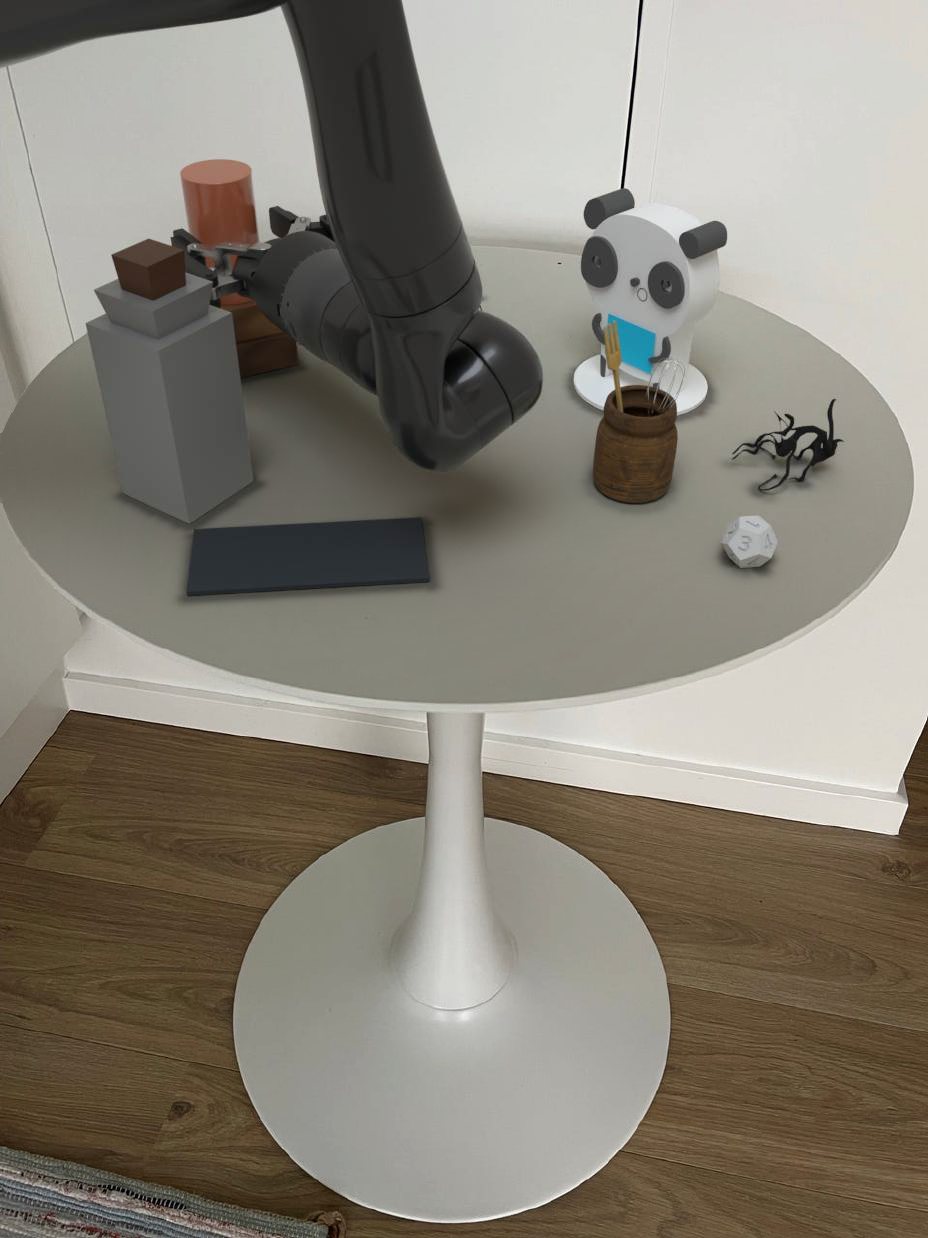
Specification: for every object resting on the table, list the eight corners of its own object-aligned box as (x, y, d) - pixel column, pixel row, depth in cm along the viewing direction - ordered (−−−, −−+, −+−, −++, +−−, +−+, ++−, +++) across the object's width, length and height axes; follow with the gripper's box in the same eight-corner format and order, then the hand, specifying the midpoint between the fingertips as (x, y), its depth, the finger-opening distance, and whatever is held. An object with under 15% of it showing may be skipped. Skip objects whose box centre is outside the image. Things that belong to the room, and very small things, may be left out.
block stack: (210, 385, 96) (200, 319, 92) (181, 345, 101) (171, 281, 98) (298, 364, 99) (292, 299, 95) (266, 327, 104) (259, 264, 100)
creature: (734, 504, 85) (845, 495, 83) (730, 442, 82) (845, 431, 80) (732, 449, 91) (836, 439, 89) (728, 389, 88) (835, 378, 86)
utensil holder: (645, 515, 82) (667, 366, 74) (572, 485, 85) (586, 338, 77) (685, 480, 86) (709, 333, 78) (614, 452, 89) (630, 308, 81)
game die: (739, 537, 80) (746, 502, 78) (783, 560, 78) (791, 525, 76) (708, 557, 79) (715, 522, 77) (752, 582, 77) (760, 546, 75)
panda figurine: (540, 378, 98) (551, 204, 88) (628, 338, 103) (647, 171, 94) (646, 433, 91) (671, 252, 81) (734, 387, 97) (766, 213, 87)
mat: (187, 596, 75) (186, 591, 74) (194, 533, 80) (194, 528, 80) (429, 582, 76) (429, 577, 76) (421, 521, 81) (421, 516, 81)
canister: (195, 306, 94) (177, 184, 87) (200, 277, 98) (182, 159, 92) (263, 303, 94) (250, 182, 88) (265, 275, 99) (252, 157, 92)
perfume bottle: (253, 480, 85) (223, 247, 73) (189, 524, 81) (146, 283, 69) (188, 453, 88) (149, 223, 76) (123, 493, 84) (70, 256, 72)
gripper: (409, 228, 83) (299, 165, 93) (234, 275, 77) (136, 201, 87) (411, 324, 88) (306, 253, 98) (247, 374, 82) (152, 294, 92)
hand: (226, 229), depth 92 cm, fingers open, 8 cm apart
